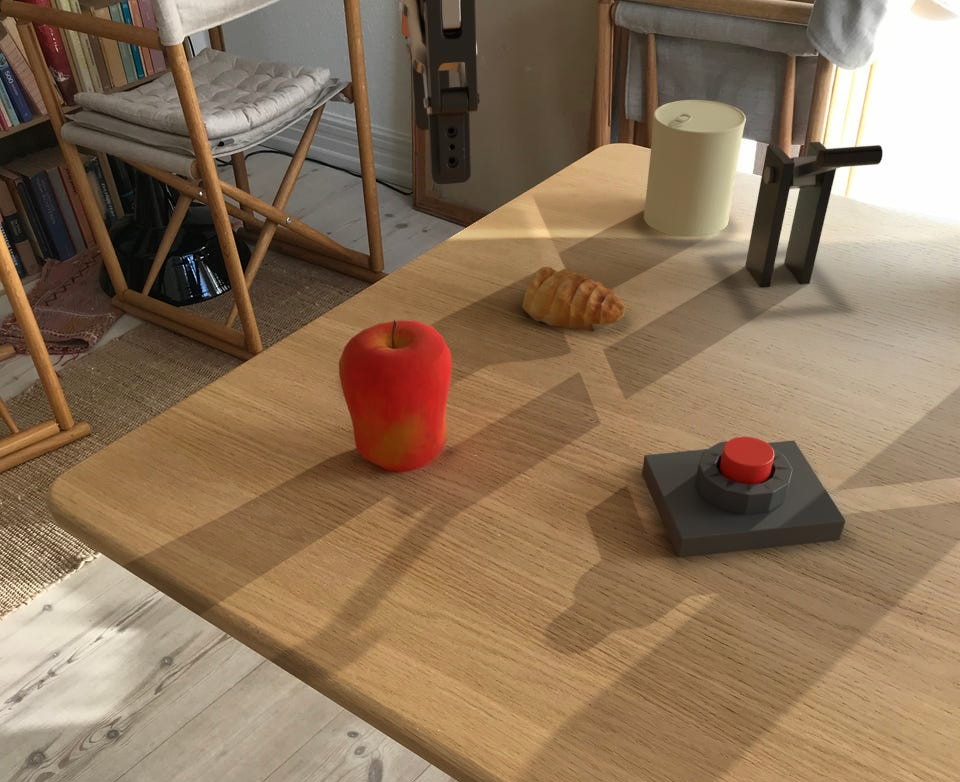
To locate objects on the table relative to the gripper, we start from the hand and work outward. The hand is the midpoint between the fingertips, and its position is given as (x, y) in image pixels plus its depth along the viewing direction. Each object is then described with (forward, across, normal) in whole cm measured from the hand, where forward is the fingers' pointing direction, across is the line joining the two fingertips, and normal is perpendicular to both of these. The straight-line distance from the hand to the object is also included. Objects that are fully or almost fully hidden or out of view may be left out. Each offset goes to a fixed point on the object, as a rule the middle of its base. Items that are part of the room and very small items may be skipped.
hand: (441, 152), depth 62 cm
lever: (+13, +22, -35) cm, 44 cm away
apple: (+25, +5, +4) cm, 26 cm away
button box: (+25, -6, -20) cm, 33 cm away
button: (+21, -6, -20) cm, 30 cm away
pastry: (+25, +24, -14) cm, 38 cm away
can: (+25, +40, -30) cm, 57 cm away
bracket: (+25, +26, -35) cm, 51 cm away
